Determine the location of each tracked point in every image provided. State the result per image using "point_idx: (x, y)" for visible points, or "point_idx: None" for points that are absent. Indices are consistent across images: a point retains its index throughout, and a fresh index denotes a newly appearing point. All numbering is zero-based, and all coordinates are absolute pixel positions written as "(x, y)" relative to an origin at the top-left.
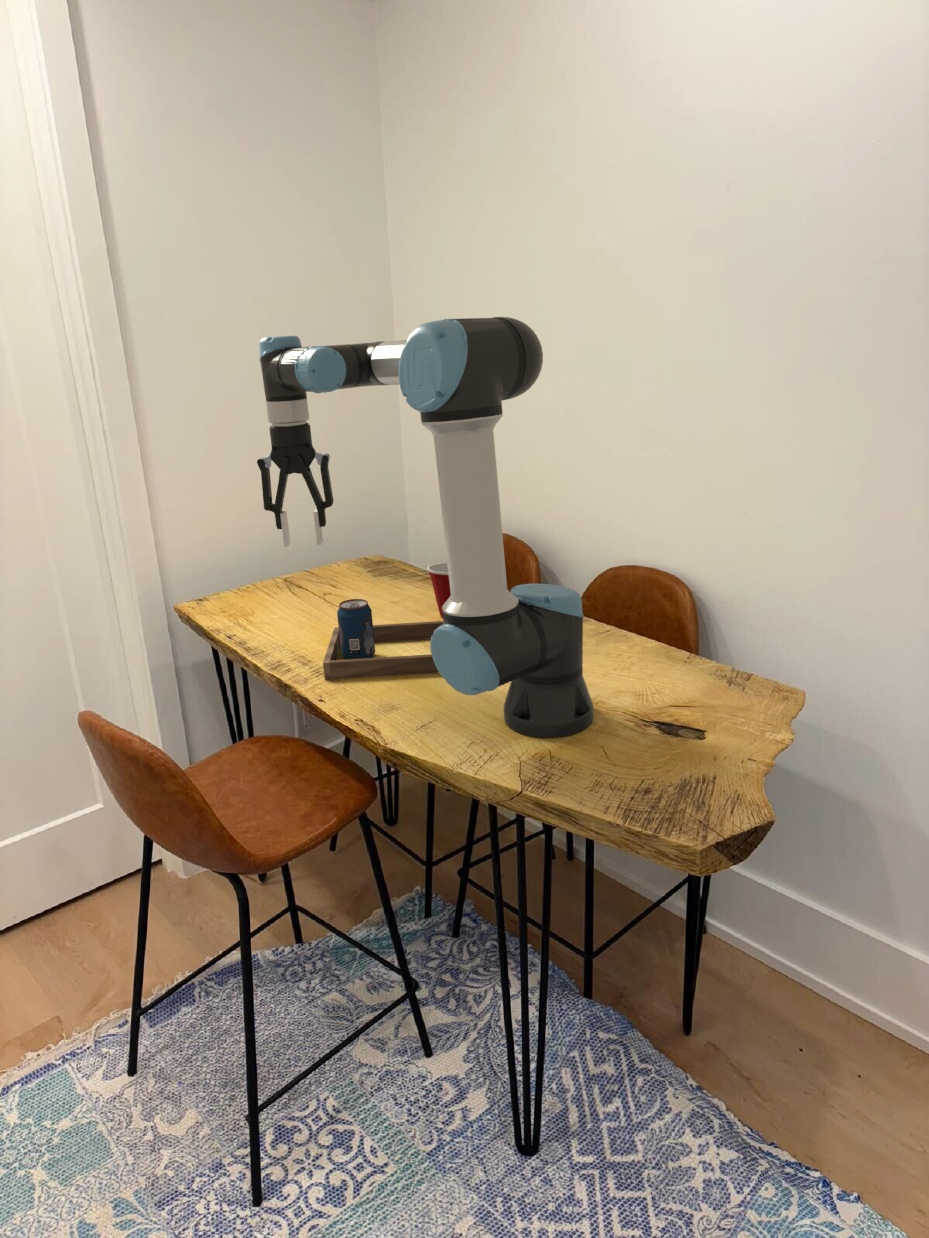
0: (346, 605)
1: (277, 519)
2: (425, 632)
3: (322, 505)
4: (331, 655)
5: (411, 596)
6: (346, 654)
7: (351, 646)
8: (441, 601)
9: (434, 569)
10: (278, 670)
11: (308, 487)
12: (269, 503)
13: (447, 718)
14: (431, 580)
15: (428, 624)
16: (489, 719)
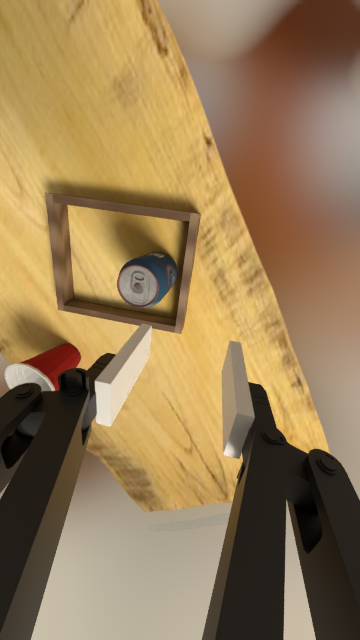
0: (148, 289)
1: (263, 410)
2: (87, 305)
3: (57, 397)
4: (187, 240)
5: None
6: (170, 258)
7: (160, 255)
8: (65, 357)
9: None
10: (253, 264)
11: (39, 517)
12: (319, 485)
13: (53, 28)
14: None
15: (78, 307)
16: (3, 11)
